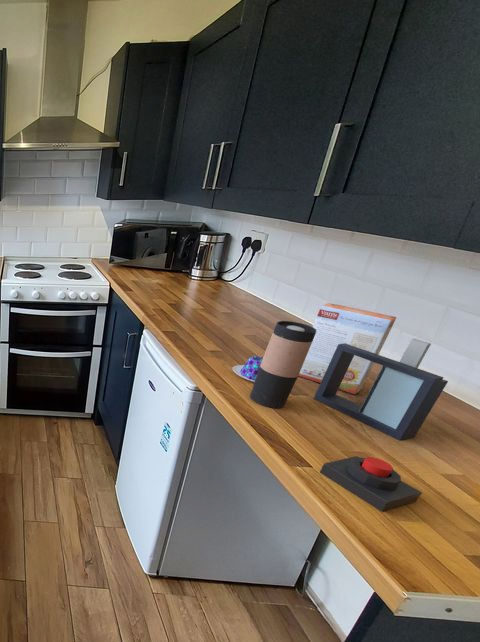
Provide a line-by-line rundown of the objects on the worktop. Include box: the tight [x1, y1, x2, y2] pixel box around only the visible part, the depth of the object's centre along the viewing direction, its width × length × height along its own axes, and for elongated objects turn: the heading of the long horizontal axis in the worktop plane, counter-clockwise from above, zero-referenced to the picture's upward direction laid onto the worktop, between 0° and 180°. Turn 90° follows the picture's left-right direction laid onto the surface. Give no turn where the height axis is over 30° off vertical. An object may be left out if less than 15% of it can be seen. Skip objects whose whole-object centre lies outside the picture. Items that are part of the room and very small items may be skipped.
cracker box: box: [298, 302, 398, 395], centre depth 107 cm, size 14×6×21 cm, turn 34°
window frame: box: [313, 343, 449, 441], centre depth 92 cm, size 18×5×15 cm, turn 17°
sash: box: [399, 338, 432, 369], centre depth 88 cm, size 7×1×19 cm, turn 17°
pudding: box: [232, 355, 264, 383], centre depth 111 cm, size 12×12×5 cm
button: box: [361, 456, 394, 478], centre depth 71 cm, size 4×4×2 cm
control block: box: [319, 455, 423, 513], centre depth 72 cm, size 10×9×4 cm
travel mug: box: [249, 320, 316, 409], centre depth 96 cm, size 8×8×20 cm
